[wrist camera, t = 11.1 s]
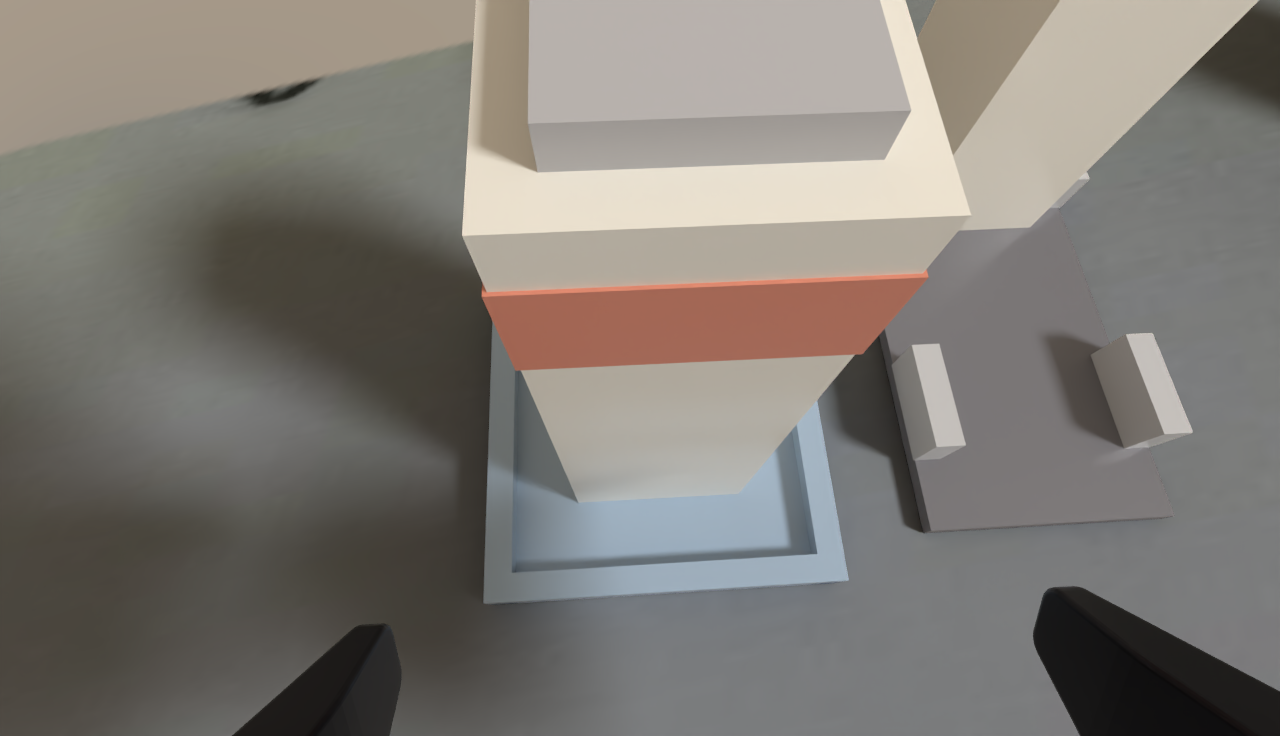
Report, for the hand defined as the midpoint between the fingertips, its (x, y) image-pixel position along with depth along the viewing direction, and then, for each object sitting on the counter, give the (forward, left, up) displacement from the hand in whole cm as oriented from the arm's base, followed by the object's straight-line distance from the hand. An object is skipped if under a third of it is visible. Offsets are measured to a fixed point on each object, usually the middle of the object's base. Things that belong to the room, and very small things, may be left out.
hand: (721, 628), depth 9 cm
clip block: (+14, +3, -9) cm, 17 cm away
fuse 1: (+3, +5, -8) cm, 10 cm away
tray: (+3, +5, -9) cm, 10 cm away
